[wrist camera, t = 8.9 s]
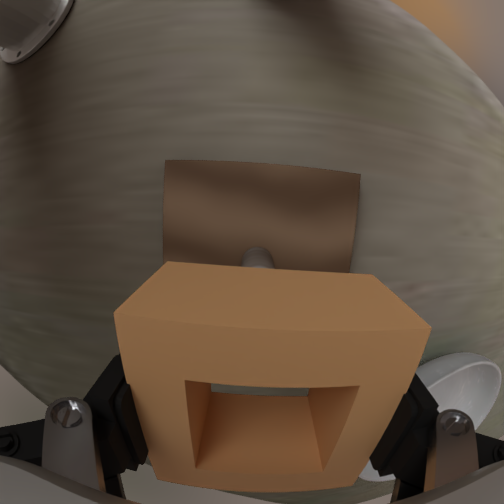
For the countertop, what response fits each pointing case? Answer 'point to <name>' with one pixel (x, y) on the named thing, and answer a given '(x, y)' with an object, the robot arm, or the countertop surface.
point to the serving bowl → (456, 390)
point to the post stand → (259, 215)
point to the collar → (265, 373)
